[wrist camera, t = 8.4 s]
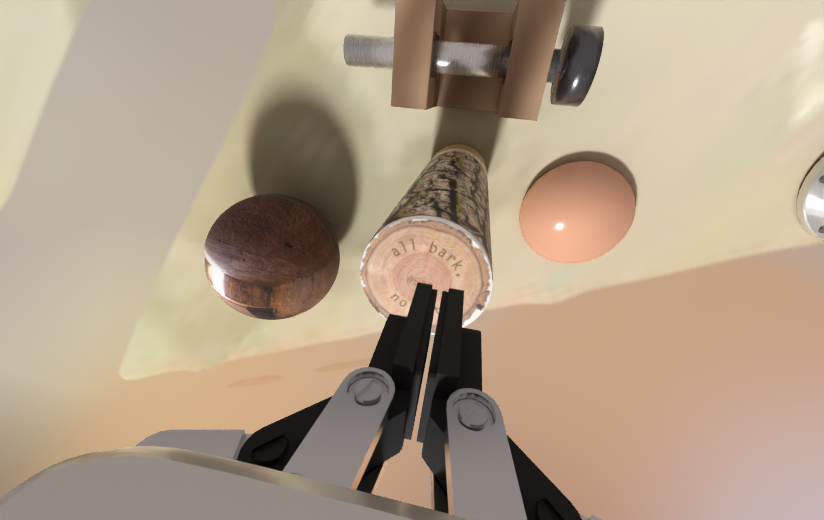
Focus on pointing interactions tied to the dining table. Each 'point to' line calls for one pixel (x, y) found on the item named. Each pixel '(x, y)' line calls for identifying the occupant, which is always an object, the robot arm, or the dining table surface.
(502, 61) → the shaft
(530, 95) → the bearing housing
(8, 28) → the dining table surface
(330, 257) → the wooden sphere
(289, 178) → the dining table surface
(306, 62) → the dining table surface
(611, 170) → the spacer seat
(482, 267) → the paper tube
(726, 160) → the dining table surface
